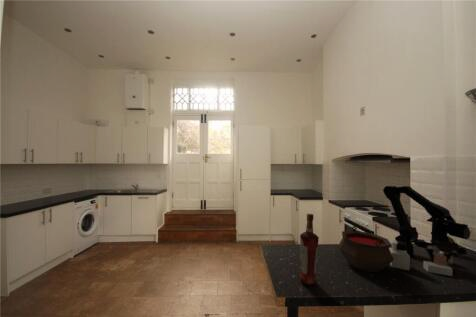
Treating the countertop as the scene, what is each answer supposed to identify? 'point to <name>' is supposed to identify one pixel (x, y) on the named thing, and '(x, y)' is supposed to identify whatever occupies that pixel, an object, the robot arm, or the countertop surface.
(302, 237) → the liquor
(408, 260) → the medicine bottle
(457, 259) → the countertop surface
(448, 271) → the long grey brick
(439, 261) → the terracotta tall brick
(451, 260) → the round birch brick
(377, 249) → the brown pot
